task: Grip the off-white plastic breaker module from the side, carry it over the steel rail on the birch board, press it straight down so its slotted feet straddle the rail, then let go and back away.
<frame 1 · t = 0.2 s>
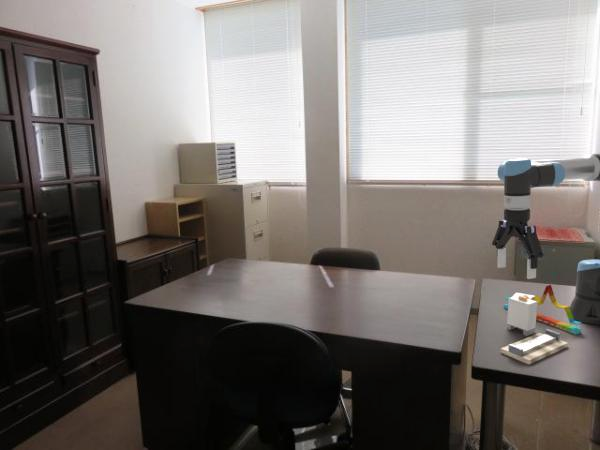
hand: (515, 272, 148), 27 cm above the table, tool pointing down, fingers open, 13 cm apart
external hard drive: (522, 301, 199), on the table
steel rail: (534, 342, 152), on the rail board, point 2 cm above the table
rail board: (534, 349, 153), on the table
chart: (539, 320, 178), on the table
breaker module: (520, 330, 168), on the table
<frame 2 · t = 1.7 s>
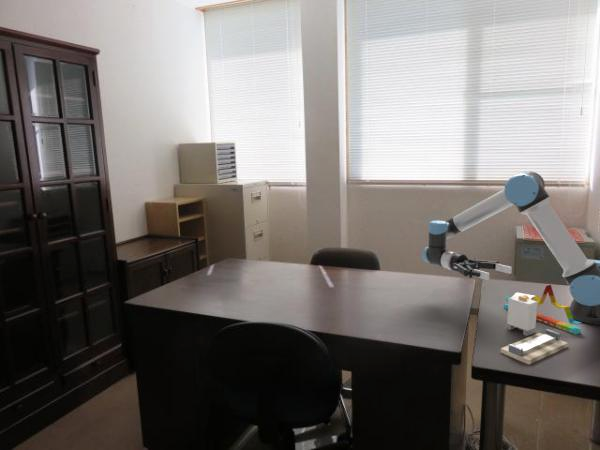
hand: (500, 273, 172), 20 cm above the table, tool horizontal, fingers open, 13 cm apart
nothing on the table moved.
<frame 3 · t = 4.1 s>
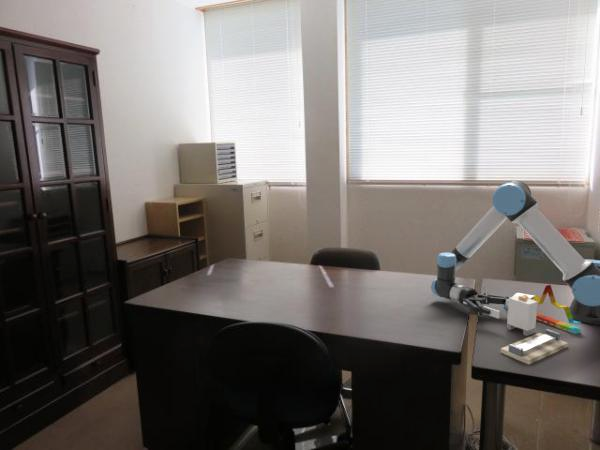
hand: (510, 310, 170), 6 cm above the table, tool horizontal, fingers open, 13 cm apart
nothing on the table moved.
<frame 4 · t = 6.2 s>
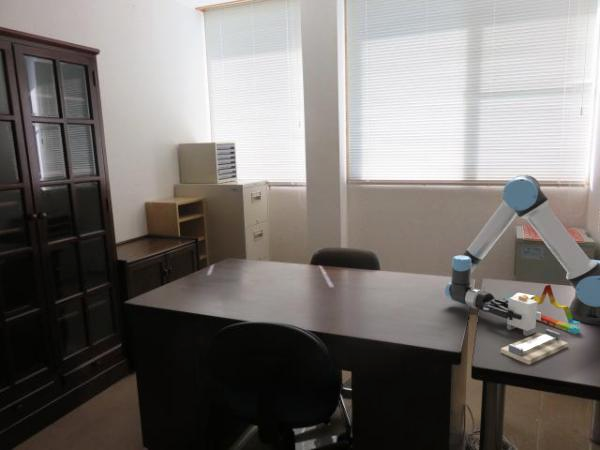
hand: (535, 318, 162), 7 cm above the table, tool horizontal, fingers closed on breaker module, 5 cm apart
breaker module: (520, 330, 168), on the table, touching gripper
everything else where it was.
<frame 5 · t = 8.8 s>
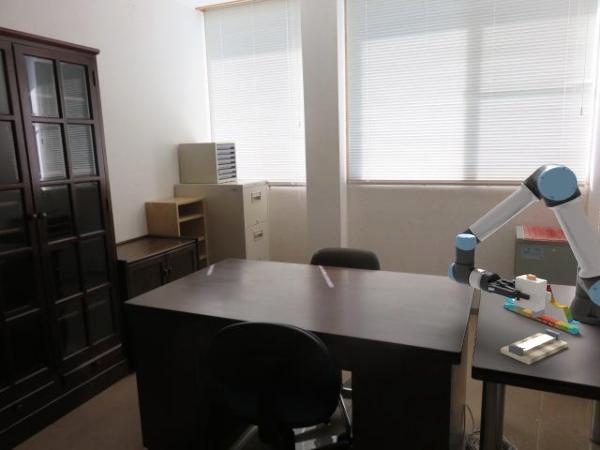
hand: (545, 298, 150), 18 cm above the table, tool horizontal, fingers closed on breaker module, 5 cm apart
breaker module: (528, 312, 155), point 11 cm above the table, touching gripper
everything else where it was.
when the fingers open (8 cm above the table, at t = 11.6 s): breaker module stays where it is, resting on rail board.
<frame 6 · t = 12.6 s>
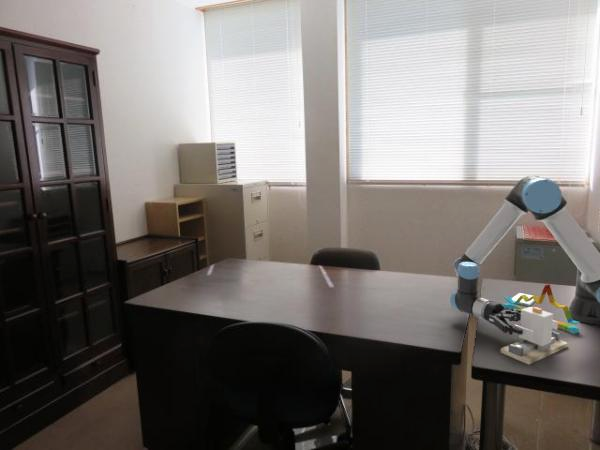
hand: (545, 330, 149), 8 cm above the table, tool horizontal, fingers open, 13 cm apart
breaker module: (534, 345, 153), point 1 cm above the table, touching rail board
everything else where it was.
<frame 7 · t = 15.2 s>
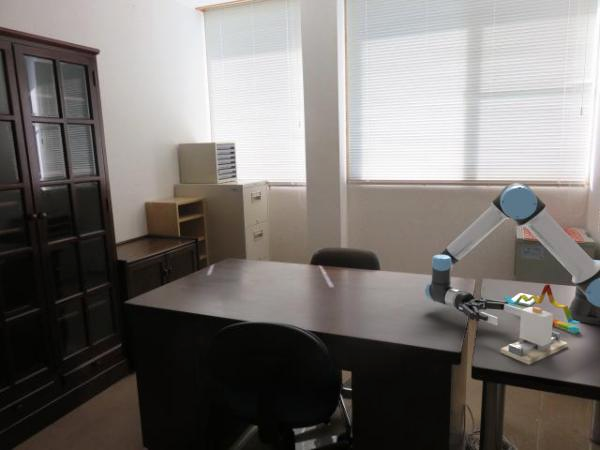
hand: (509, 317, 160), 8 cm above the table, tool horizontal, fingers open, 13 cm apart
nothing on the table moved.
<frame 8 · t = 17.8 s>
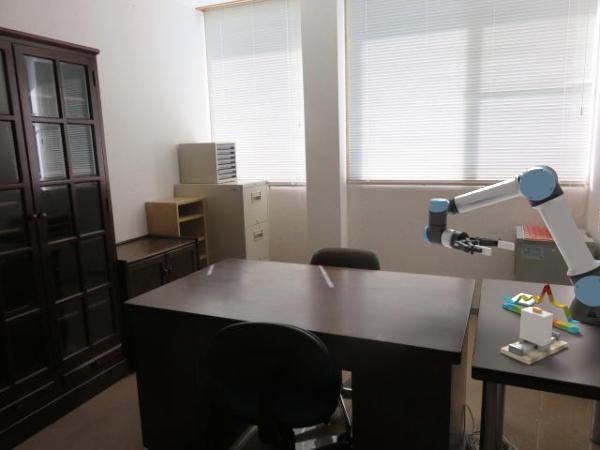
hand: (502, 249, 166), 30 cm above the table, tool horizontal, fingers open, 13 cm apart
at the end: breaker module 0.0 cm off-centre on the steel rail, point 1.5 cm above the steel rail's base; breaker module tilted 0°; the gripper is holding nothing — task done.
